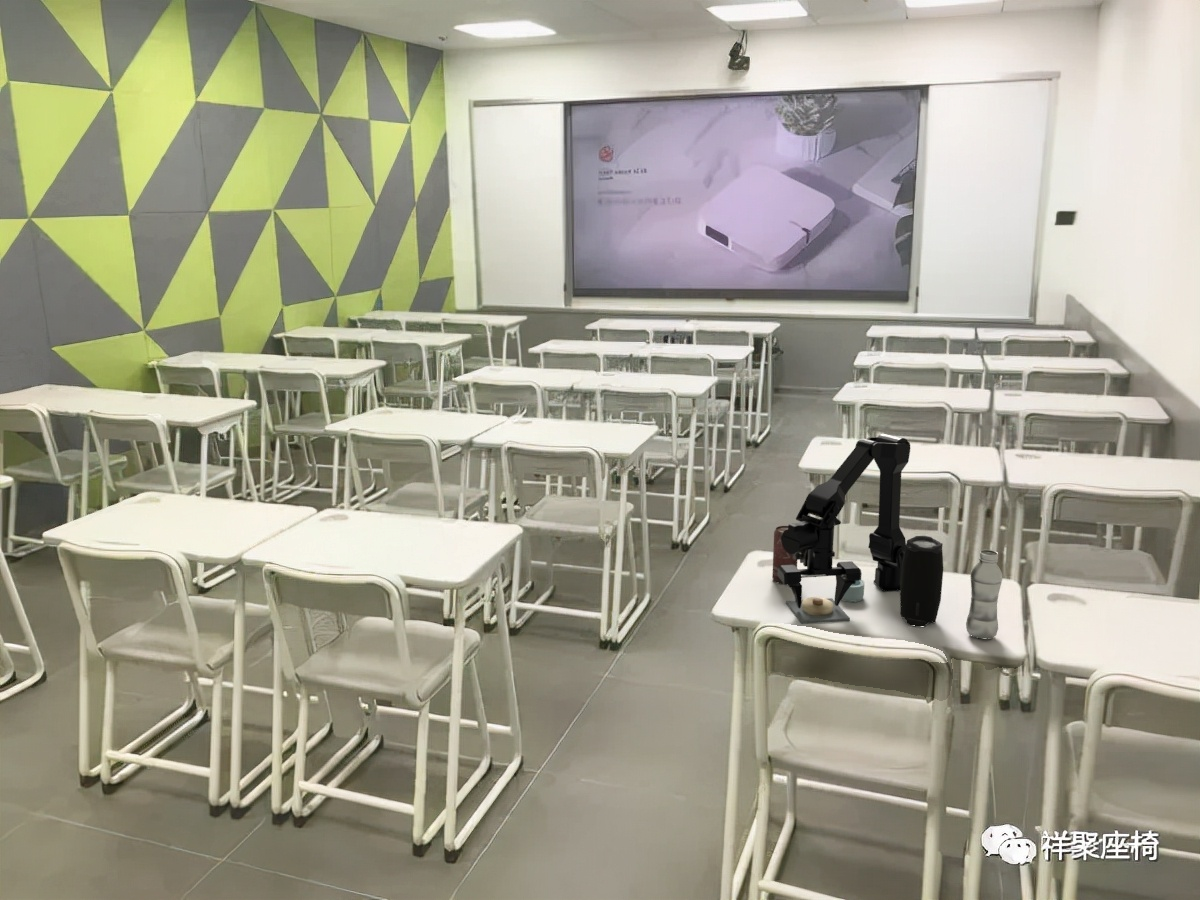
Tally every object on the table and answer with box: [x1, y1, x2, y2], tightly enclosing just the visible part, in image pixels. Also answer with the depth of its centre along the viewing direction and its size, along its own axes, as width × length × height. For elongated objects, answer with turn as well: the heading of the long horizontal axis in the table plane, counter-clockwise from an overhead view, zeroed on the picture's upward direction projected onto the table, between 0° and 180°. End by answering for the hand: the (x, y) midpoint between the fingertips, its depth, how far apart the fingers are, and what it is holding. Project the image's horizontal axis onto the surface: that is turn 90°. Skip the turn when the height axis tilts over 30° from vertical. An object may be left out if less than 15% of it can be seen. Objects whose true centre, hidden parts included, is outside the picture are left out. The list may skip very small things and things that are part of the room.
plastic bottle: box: [965, 549, 1004, 640], centre depth 209 cm, size 6×7×20 cm
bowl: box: [841, 579, 865, 603], centre depth 232 cm, size 6×6×4 cm
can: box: [771, 525, 798, 585], centre depth 242 cm, size 6×6×14 cm
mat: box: [785, 597, 851, 625], centre depth 225 cm, size 12×12×1 cm
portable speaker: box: [899, 535, 944, 627], centre depth 217 cm, size 9×9×20 cm
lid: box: [802, 596, 833, 616], centre depth 224 cm, size 7×7×2 cm
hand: (817, 606), depth 224 cm, fingers open, 9 cm apart
